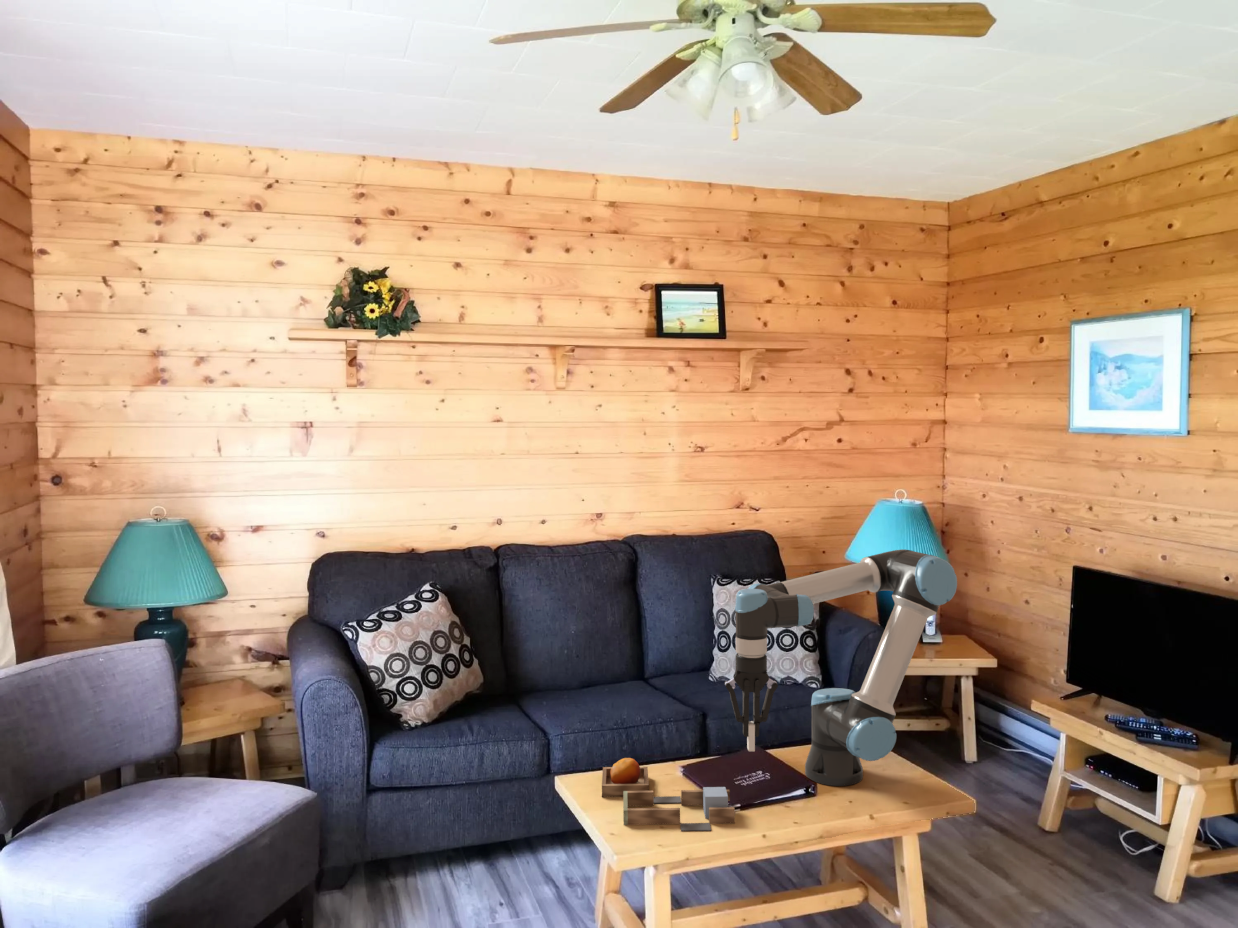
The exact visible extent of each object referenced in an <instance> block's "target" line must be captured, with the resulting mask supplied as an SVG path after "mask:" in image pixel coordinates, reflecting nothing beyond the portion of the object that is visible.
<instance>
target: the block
mask: <svg viewBox="0 0 1238 928" xmlns="http://www.w3.org/2000/svg"><path fill="white" fill-rule="evenodd" d="M702 790H703V805H702V808H703V814H704V818H705V820H709V807H729V805H728V795H727V791H726V790H727V788H726V786H703V787H702Z"/></svg>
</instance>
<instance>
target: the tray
mask: <svg viewBox="0 0 1238 928" xmlns="http://www.w3.org/2000/svg"><path fill="white" fill-rule="evenodd" d="M612 767H613V766H605V767H604V766H602V773H601V774H602V775H601V798H623V791H650V785H649V768H648V767H649V766H640V777H639V780H638V782H637V783H636V784H614V783H613V782H612V781H611V774H610V771H611V768H612ZM639 782H640V783H639Z"/></svg>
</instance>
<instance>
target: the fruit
mask: <svg viewBox="0 0 1238 928" xmlns="http://www.w3.org/2000/svg"><path fill="white" fill-rule="evenodd" d="M611 767H612V768H611V771H610V774H611V781H612V782H613V783H614V784H636V783H637V782H638V780H639V777H640V767H641V766H640V765H639V763H638V762H637V761H636V760H635V758H631V757H624V758H621V759H619V760H618V761H616V762H615V763H613V765H612V766H611ZM639 783H640V782H639Z"/></svg>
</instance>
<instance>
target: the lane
mask: <svg viewBox="0 0 1238 928" xmlns="http://www.w3.org/2000/svg"><path fill="white" fill-rule="evenodd" d="M726 791H727V795H728V801H731V796H730V795H731V794H730V793H731V791H730V789H726ZM622 799H623V801H622V802H623V808H622V809H623V810H622V811H623V826H625V825H626V826H627V825H629V826H632V825H635V826H636V825H639V826H640V825H644V826H645V825H680V832H711V831H712V828H711V824H712V825H713V824H719V825H720V824H736V822H735V821H736V820H735V818H736V817H735V812H736V811H735V810H736V809H735V807H733V806H728V807H709V819H708V822H689V823H688V822H686V823H685V822H683V823H682V822H681V807H660V808H659V807H654V806H655V805H657V804H658V805H659V804H661V805H662V804H666V805H667V804H669V805H670V804H681V806H688V807H689V806H703V789H682V790H681V791H680V795H678V796H676V795H675V796H674V795H673V796H672V795H671V796H669V795H668V796H666V795H665V796H654V790H649V791H623V797H622ZM628 807H635V808H628ZM636 807H637V808H636ZM640 807H643V808H640ZM644 807H646V808H644ZM647 807H648V808H647ZM651 807H652V808H651Z"/></svg>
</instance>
